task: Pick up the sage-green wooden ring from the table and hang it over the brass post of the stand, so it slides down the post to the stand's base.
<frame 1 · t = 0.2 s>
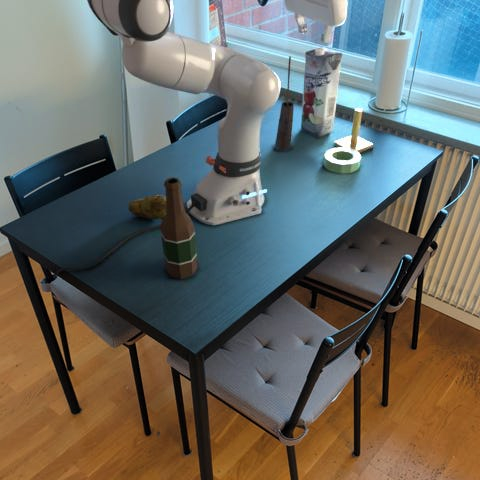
hand: (313, 37, 134), 39 cm above the table, tool pointing down, fingers open, 8 cm apart
stand: (353, 146, 175), on the table
beer bottle: (182, 270, 128), on the table
ring: (341, 164, 166), on the table
butter churn: (283, 150, 174), on the table
juice carton: (316, 131, 183), on the table
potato: (152, 219, 144), on the table
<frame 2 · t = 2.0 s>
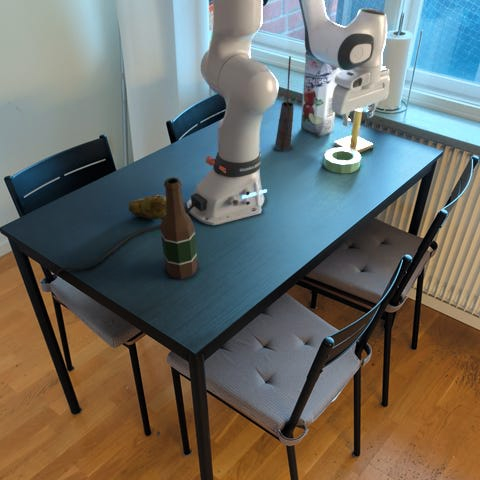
hand: (358, 121, 159), 13 cm above the table, tool pointing down, fingers open, 8 cm apart
nothing on the table moved.
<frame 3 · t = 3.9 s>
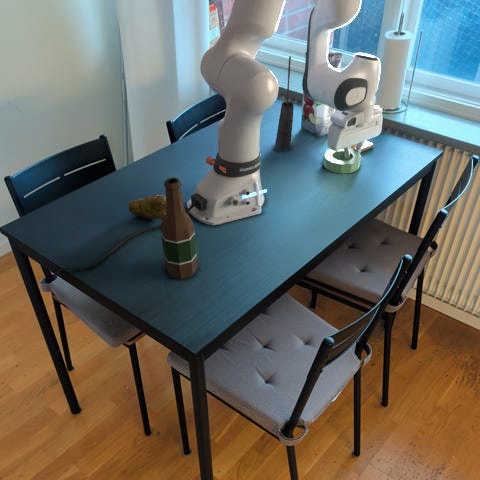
hand: (352, 155, 166), 2 cm above the table, tool pointing down, fingers closed on ring, 2 cm apart
ring: (341, 164, 166), on the table, touching gripper
everything else where it was.
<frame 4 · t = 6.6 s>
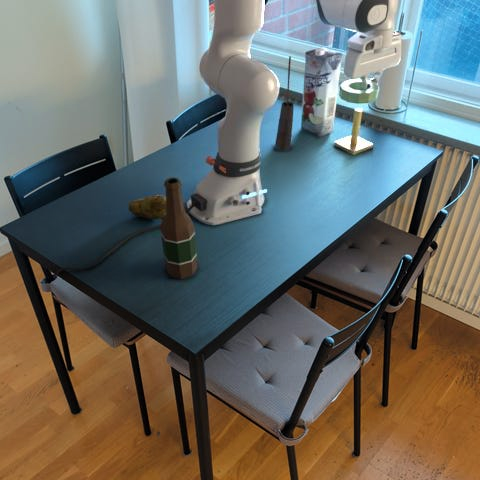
hand: (369, 86, 159), 20 cm above the table, tool pointing down, fingers closed on ring, 2 cm apart
ring: (358, 96, 159), point 18 cm above the table, touching gripper
everything else where it was.
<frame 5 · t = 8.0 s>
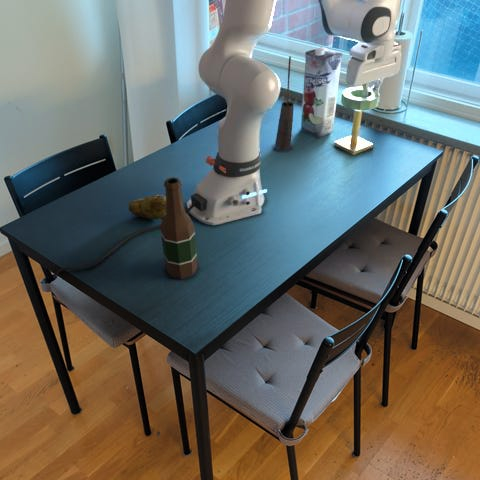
hand: (370, 94, 166), 16 cm above the table, tool pointing down, fingers closed on ring, 2 cm apart
ring: (359, 103, 165), point 14 cm above the table, touching gripper
everything else where it was.
when the fingers open (12 cm above the table, at t = 9.4 s): ring drops 9 cm, resting on stand.
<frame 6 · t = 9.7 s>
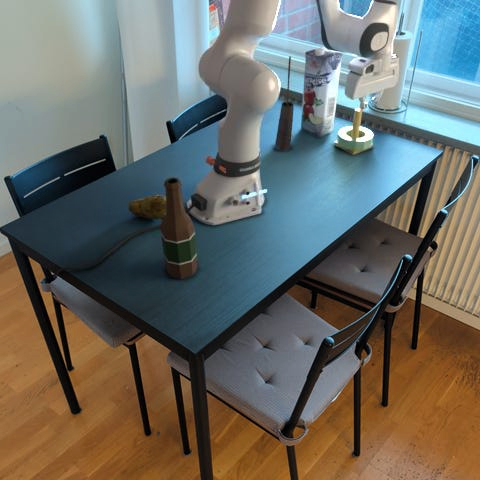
hand: (368, 106, 168), 12 cm above the table, tool pointing down, fingers open, 4 cm apart
ring: (354, 142, 174), point 1 cm above the table, touching stand
everything else where it was.
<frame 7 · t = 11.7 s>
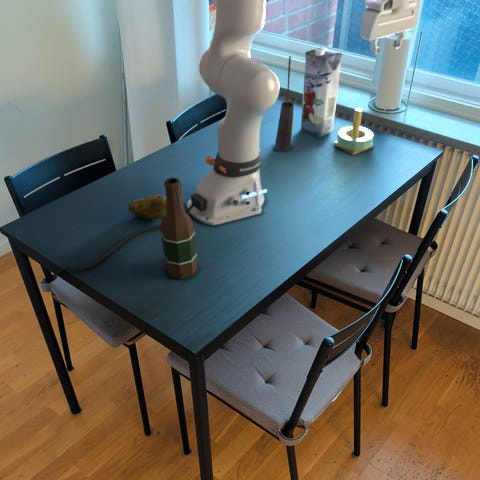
hand: (385, 50, 156), 29 cm above the table, tool pointing down, fingers open, 8 cm apart
nothing on the table moved.
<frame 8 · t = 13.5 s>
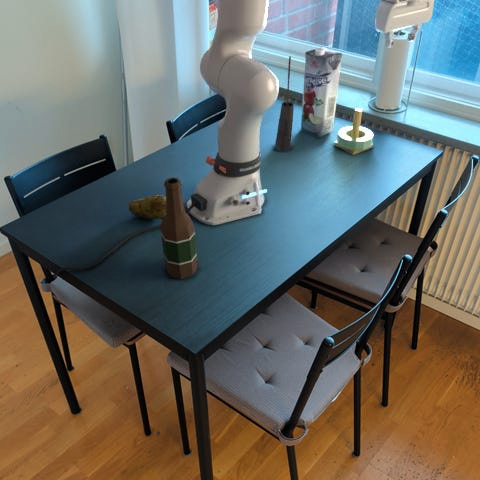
hand: (399, 43, 154), 31 cm above the table, tool pointing down, fingers open, 8 cm apart
nothing on the table moved.
at the end: ring 0.4 cm from the stand (horizontally); ring point 1.2 cm above the table; the gripper is holding nothing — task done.
